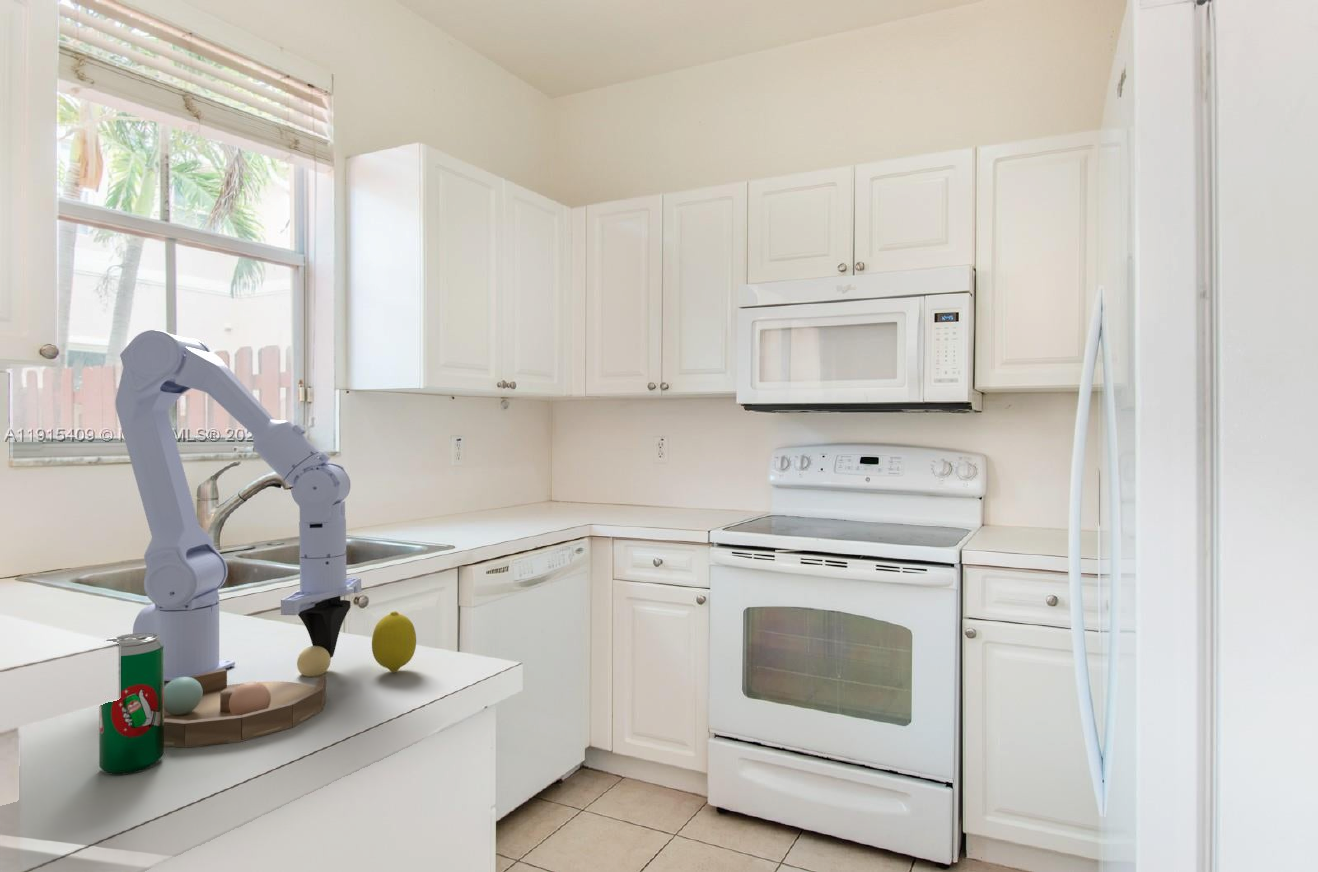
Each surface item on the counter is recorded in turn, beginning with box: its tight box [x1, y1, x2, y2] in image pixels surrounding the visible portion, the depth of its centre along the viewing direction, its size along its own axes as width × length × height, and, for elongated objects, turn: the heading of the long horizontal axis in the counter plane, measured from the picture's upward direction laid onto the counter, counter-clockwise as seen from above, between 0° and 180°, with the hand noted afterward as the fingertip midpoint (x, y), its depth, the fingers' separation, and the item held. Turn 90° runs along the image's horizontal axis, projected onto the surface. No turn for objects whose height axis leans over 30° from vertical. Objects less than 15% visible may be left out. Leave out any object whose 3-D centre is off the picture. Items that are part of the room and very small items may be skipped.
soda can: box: [98, 633, 165, 776], centre depth 73 cm, size 5×5×12 cm
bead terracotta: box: [229, 681, 271, 716], centre depth 84 cm, size 4×4×4 cm
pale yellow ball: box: [296, 645, 332, 678], centre depth 101 cm, size 4×4×4 cm
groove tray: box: [164, 668, 327, 749], centre depth 87 cm, size 19×19×2 cm
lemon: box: [371, 611, 417, 673], centre depth 102 cm, size 6×6×8 cm
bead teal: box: [164, 677, 203, 715], centre depth 85 cm, size 4×4×4 cm
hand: (324, 657), depth 103 cm, fingers closed, pressing on pale yellow ball
